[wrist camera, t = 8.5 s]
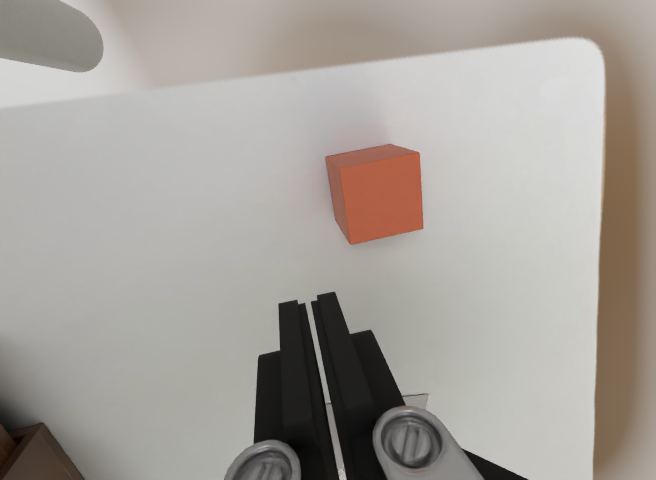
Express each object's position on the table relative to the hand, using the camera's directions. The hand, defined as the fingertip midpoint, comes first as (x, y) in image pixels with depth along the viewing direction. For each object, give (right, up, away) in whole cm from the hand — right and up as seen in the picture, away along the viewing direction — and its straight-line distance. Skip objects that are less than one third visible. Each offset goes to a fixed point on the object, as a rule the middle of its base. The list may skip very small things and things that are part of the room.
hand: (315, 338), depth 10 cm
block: (+3, +7, +13) cm, 15 cm away
